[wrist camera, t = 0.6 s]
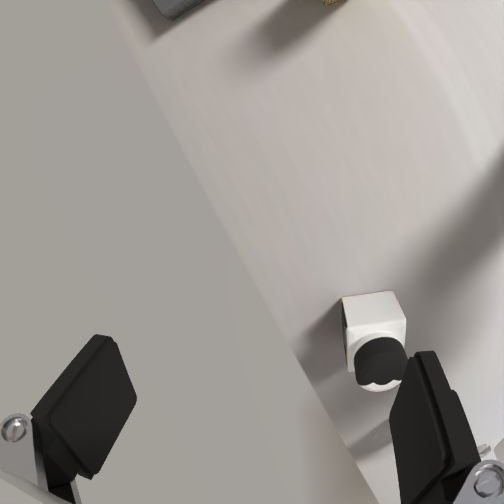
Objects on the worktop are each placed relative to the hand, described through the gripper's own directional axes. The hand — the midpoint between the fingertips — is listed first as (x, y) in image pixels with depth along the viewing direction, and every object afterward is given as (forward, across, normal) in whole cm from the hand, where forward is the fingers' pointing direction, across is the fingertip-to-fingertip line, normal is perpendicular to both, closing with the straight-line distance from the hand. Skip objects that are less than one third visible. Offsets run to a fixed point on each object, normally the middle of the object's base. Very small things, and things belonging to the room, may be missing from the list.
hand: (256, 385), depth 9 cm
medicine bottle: (+29, -10, +17) cm, 35 cm away
